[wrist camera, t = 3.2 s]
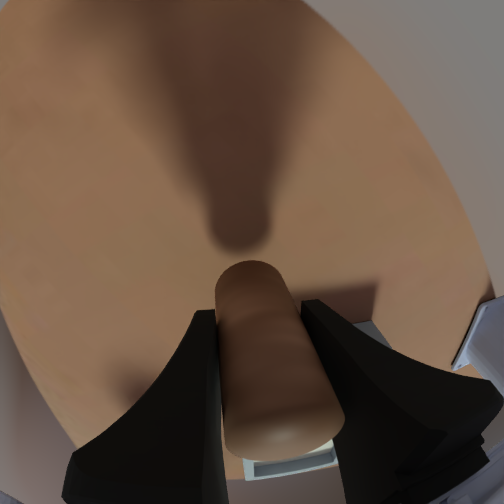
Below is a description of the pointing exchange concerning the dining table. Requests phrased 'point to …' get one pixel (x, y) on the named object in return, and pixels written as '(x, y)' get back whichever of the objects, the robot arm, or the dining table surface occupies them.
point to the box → (311, 459)
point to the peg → (269, 369)
